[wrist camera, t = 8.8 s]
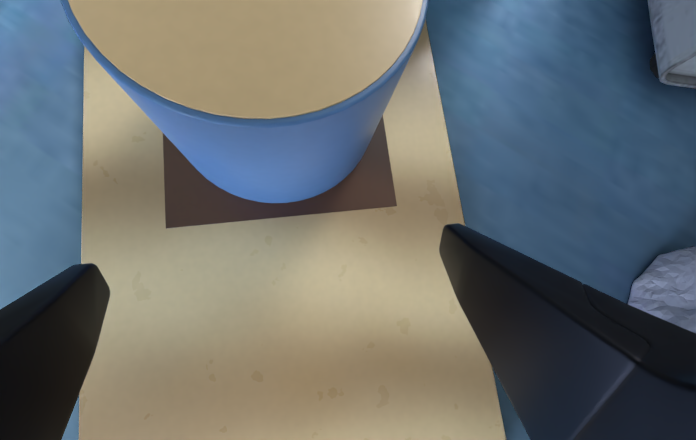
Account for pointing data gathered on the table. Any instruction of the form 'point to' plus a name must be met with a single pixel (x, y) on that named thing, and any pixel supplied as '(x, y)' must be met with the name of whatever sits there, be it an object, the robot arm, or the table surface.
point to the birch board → (278, 289)
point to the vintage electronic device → (674, 41)
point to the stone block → (669, 288)
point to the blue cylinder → (257, 81)
